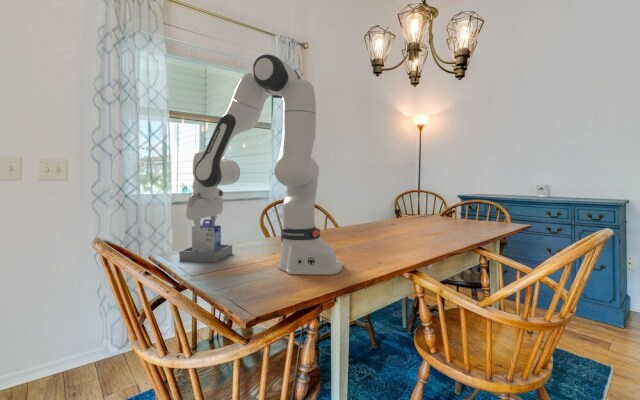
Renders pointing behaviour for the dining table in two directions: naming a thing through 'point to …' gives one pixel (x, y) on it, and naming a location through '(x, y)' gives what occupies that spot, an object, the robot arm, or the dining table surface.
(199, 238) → the ink cartridge box
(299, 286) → the dining table surface
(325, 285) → the dining table surface
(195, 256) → the bin
